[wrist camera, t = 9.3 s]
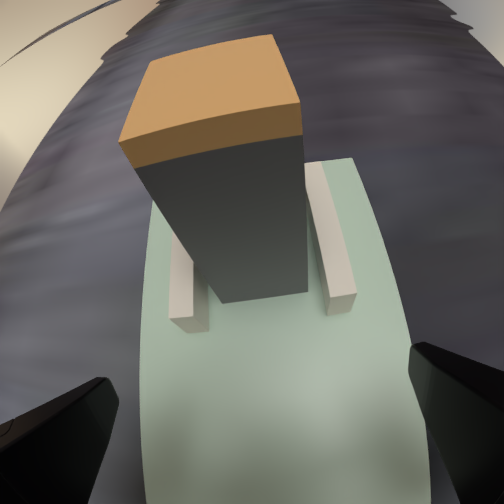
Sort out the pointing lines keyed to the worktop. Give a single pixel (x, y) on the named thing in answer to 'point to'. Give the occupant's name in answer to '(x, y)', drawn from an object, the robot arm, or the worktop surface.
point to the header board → (283, 372)
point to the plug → (226, 164)
